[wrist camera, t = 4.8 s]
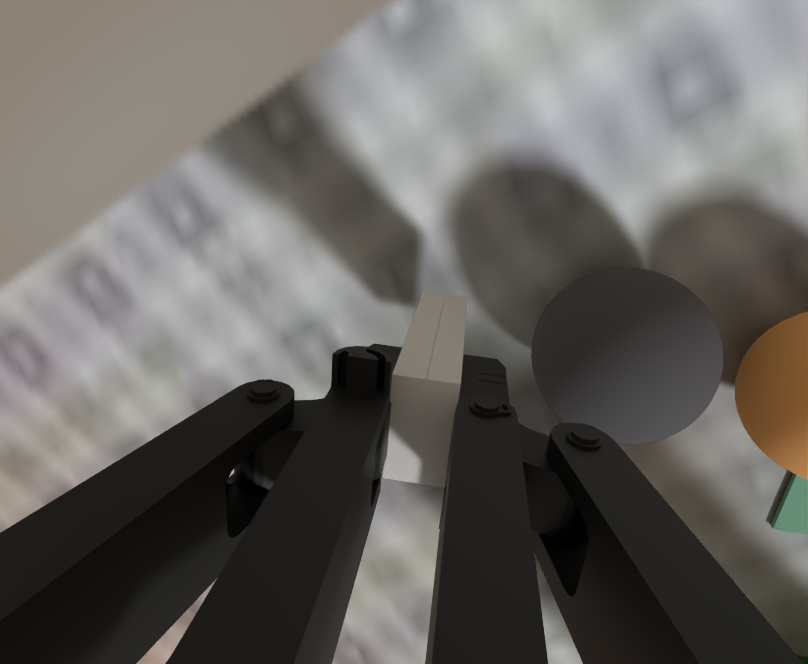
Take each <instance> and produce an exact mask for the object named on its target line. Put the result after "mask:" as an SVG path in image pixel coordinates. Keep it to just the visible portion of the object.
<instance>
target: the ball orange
mask: <svg viewBox="0 0 808 664" xmlns="http://www.w3.org/2000/svg"><path fill="white" fill-rule="evenodd" d="M735 401H736V406H737V411H738V414H739V417H740V419H741V421H742V424H743V426H744V428H745V429H746V431H747V432H748V434H749V436H750V437H751V439H752V440H753V441H754V442H755V444H756V445H757V446H758V447H759V448H760V449H761V450H762V451H763V452H764V453H765V454H766V455H767V456H768V457H770V458H771V459H772V460H773V461H774V462H776V463H777V464H779V465H780V466H782V467H783V468H785V469H787V470H789V471H790V472H792V473H794V474H796V475H798V476H800V477H802V478H805V479H807V480H808V312H804V313H801V314H798V315H795V316H793V317H790V318H788V319H786V320H783V321H782V322H780V323H778V324H776V325H775V326H773V327H771V328H770V329H769V330H767V331H766V332H765V333H763V334H762V335H761V336H760V337H759V338H758V339H757V340H756V341H755V342H754V343H753V344H752V346H751V347H750V348H749V349H748V351H747V352H746V354H745V355H744V357H743V359H742V361H741V364H740V366H739V369H738V372H737V375H736V380H735Z"/></svg>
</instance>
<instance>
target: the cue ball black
mask: <svg viewBox="0 0 808 664" xmlns="http://www.w3.org/2000/svg"><path fill="white" fill-rule="evenodd" d="M531 357H532V368H533V372H534V376H535V380H536V383H537V385H538V388H539V390H540V392H541V394H542V396H543V398H544V399H545V401H546V402H547V404H548V405H549V406H550V408H551V409H552V410H553V411H554V412H555V413H556V414H557V415H558V417H559V418H560V419H562V420H563V421H564V422H565V423H583V424H587V425H588V426H589V425H590V426H593V427H596V428H597V429H599V430H600V431H602V432H604V433H606V434H607V435H609V436H610V437H611V438H612V439H613V440H614V441H615V442H616V443H617V444H622V445H636V444H645V443H650V442H655V441H658V440H661V439H664V438H667V437H669V436H671V435H674V434H676V433H678V432H679V431H681V430H683V429H684V428H686V427H687V426H689V425H690V424H691V423H692V422H694V421H695V420H696V419H697V418H698V417H699V416H700V415H701V414H702V413H703V412H704V411H705V409H706V408H707V406H708V405H709V404H710V402H711V400H712V399H713V397H714V395H715V393H716V391H717V389H718V386H719V383H720V380H721V377H722V371H723V345H722V339H721V336H720V333H719V330H718V327H717V325H716V323H715V321H714V319H713V317H712V315H711V313H710V312H709V310H708V309H707V307H706V306H705V305H704V303H703V302H702V301H701V300H700V299H699V298H698V297H697V296H696V295H695V294H694V293H693V292H691V291H690V290H689V289H688V288H686V287H685V286H684V285H682V284H680V283H679V282H677V281H675V280H674V279H672V278H669V277H667V276H665V275H662V274H660V273H656V272H653V271H649V270H644V269H637V268H616V269H608V270H603V271H599V272H596V273H593V274H590V275H587V276H585V277H583V278H581V279H579V280H576V281H575V282H573V283H572V284H570V285H569V286H567V287H566V288H565V289H563V290H562V291H561V292H560V293H559V294H558V295H557V296H556V297H555V298H554V299H553V300H552V301H551V302H550V304H549V305H548V307H547V308H546V309H545V311H544V312H543V314H542V316H541V318H540V320H539V322H538V324H537V327H536V330H535V333H534V338H533V343H532V356H531Z"/></svg>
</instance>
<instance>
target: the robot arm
mask: <svg viewBox="0 0 808 664" xmlns="http://www.w3.org/2000/svg"><path fill="white" fill-rule="evenodd" d="M467 301H468V297H461V296H453V295H445V294H437V293H429V292H423V294H422V296H421V299H420V302H419V304H418V307H417V310H416V312H415V315H414V318H413V320H412V323H411V326H410V328H409V331H408V334H407V336H406V339H405V342H404V344H403V347H394V346H387V345H380V344H373V345H371V346H369V347H364V346H353V347H345V348H342V349H339V350H337V351H336V352H334V353H333V358H332V382H331V388H330V390H329V392H328V393H327V395H326V397H325V398H323V399H317V400H295V401H294V390H293V389H292V388H291V387H290V386H289V385H287V384H285V383H282V382H278V381H273V380H268V379H266V380H265V379H263V380H257V381H253V382H248V383H245V384H243V385H241V386H239V387H237V388H235V389H234V390H232V391H230V392H229V393H227V394H226V395H224V396H222V397H221V398H219V399H217V400H216V401H214V402H212V403H211V404H209V405H208V406H206V407H204V408H203V409H201V410H199V411H198V412H196V413H195V414H193V415H191V416H190V417H188V418H186V419H185V420H183V421H182V422H180V423H178V424H177V425H175V426H173V427H172V428H170V429H169V430H167V431H165V432H164V433H162V434H160V435H159V436H157V437H156V438H154V439H152V440H151V441H149V442H147V443H146V444H144V445H143V446H141V447H139V448H138V449H136V450H134V451H133V452H131V453H130V454H128V455H126V456H125V457H123V458H121V459H120V460H118V461H117V462H115V463H113V464H112V465H110V466H108V467H107V468H105V469H104V470H102V471H100V472H99V473H97V474H95V475H94V476H92V477H91V478H89V479H87V480H86V481H84V482H82V483H81V484H79V485H78V486H76V487H74V488H73V489H71V490H69V491H68V492H66V493H65V494H63V495H61V496H60V497H58V498H56V499H55V500H53V501H52V502H50V503H48V504H47V505H45V506H43V507H42V508H40V509H39V510H37V511H35V512H34V513H32V514H30V515H29V516H27V517H26V518H24V519H22V520H21V521H19V522H17V523H16V524H14V525H13V526H11V527H9V528H8V529H6V530H4V531H3V532H1V533H0V664H136V663H137V662H138V661H139V660H140V659H141V658H142V657H143V656H144V655H145V654H146V653H147V652H148V651H149V650H150V648H151V647H152V646H153V645H154V644H155V643H156V642H157V641H158V640H159V639H160V638H161V637H162V636H163V635H164V634H165V633H166V631H167V630H168V629H169V628H170V627H171V626H172V625H173V624H174V623H175V622H176V621H177V620H178V619H179V618H180V617H181V616H182V615H183V613H184V612H185V611H186V610H187V609H188V608H189V607H190V606H191V605H192V604H193V603H194V602H195V601H196V600H197V599H198V598H199V597H200V595H201V594H202V593H203V592H204V591H205V590H206V589H207V588H208V587H209V586H210V585H211V584H212V583H213V582H214V581H215V580H216V579H217V580H216V581H215V583H214V585H213V586H212V588H211V590H210V591H209V593H208V595H207V596H206V598H205V600H204V602H203V603H202V605H201V607H200V608H199V610H198V612H197V613H196V615H195V617H194V618H193V620H192V622H191V623H190V625H189V627H188V628H187V630H186V632H185V633H184V635H183V637H182V638H181V640H180V642H179V643H178V645H177V647H176V649H175V650H174V652H173V654H172V655H171V657H170V658H169V659H168V661H167V662H166V664H332V661H333V657H334V654H335V650H336V646H337V643H338V639H339V636H340V632H341V629H342V625H343V621H344V618H345V614H346V611H347V607H348V604H349V600H350V597H351V593H352V589H353V586H354V582H355V579H356V575H357V572H358V568H359V565H360V561H361V557H362V554H363V550H364V547H365V543H366V540H367V536H368V532H369V529H370V525H371V522H372V518H373V515H374V511H375V508H376V504H377V500H378V497H379V493H380V486H381V475H382V470H383V467H384V472H383V478H386V479H392V480H398V481H404V482H410V483H417V484H423V485H429V486H435V487H441V488H445V490H444V497H443V504H442V511H441V518H440V525H439V529H440V532H439V542H438V551H437V560H436V569H435V579H434V588H433V597H432V606H431V616H430V625H429V634H428V643H427V652H426V662H425V664H548V659H547V651H546V643H545V635H544V627H543V619H542V611H541V603H540V596H539V588H538V580H537V572H536V564H535V556H534V552H535V554H536V557H537V559H538V561H539V563H540V566H541V568H542V570H543V573H544V575H545V577H546V579H547V582H548V584H549V586H550V589H551V591H552V593H553V596H554V598H555V600H556V602H557V605H558V607H559V609H560V612H561V614H562V616H563V618H564V621H565V623H566V625H567V628H568V630H569V632H570V634H571V637H572V639H573V641H574V644H575V646H576V648H577V651H578V653H579V655H580V657H581V660H582V662H583V664H803V663H802V662H801V661H800V659H799V658H798V657H797V656H796V655H795V653H794V652H793V651H792V650H791V649H790V648H789V646H788V645H787V644H786V643H785V642H784V640H783V639H782V638H781V637H780V636H779V635H778V633H777V632H776V631H775V630H774V629H773V627H772V626H771V625H770V624H769V623H768V622H767V620H766V619H765V618H764V617H763V616H762V614H761V613H760V612H759V611H758V610H757V609H756V607H755V606H754V605H753V604H752V603H751V601H750V600H749V599H748V598H747V597H746V596H745V594H744V593H743V592H742V591H741V590H740V588H739V587H738V586H737V585H736V584H735V583H734V581H733V580H732V579H731V578H730V577H729V575H728V574H727V573H726V572H725V571H724V570H723V568H722V567H721V566H720V565H719V564H718V562H717V561H716V560H715V559H714V558H713V557H712V555H711V554H710V553H709V552H708V551H707V549H706V548H705V547H704V546H703V545H702V544H701V542H700V541H699V540H698V539H697V538H696V536H695V535H694V534H693V533H692V532H691V531H690V529H689V528H688V527H687V526H686V525H685V523H684V522H683V521H682V520H681V519H680V518H679V516H678V515H677V514H676V513H675V512H674V510H673V509H672V508H671V507H670V506H669V505H668V503H667V502H666V501H665V500H664V499H663V497H662V496H661V495H660V494H659V493H658V491H657V490H656V489H655V488H654V487H653V486H652V484H651V483H650V482H649V481H648V480H647V478H646V477H645V476H644V475H643V474H642V473H641V471H640V470H639V469H638V468H637V467H636V465H635V464H634V463H633V462H632V461H631V460H630V458H629V457H628V456H627V455H626V454H625V452H624V451H623V450H622V449H621V448H620V447H619V445H618V444H617V443H616V442H615V441H614V440H613V439H612V438H611V437H610V436H609V435H607V434H606V433H604V432H602V431H600V430H599V429H597V428H596V427H593V426H590V425H589V426H588V425H587V424H583V423H560V424H558V425H556V426H554V427H553V429H552V431H551V433H550V436H547V435H544V434H541V433H538V432H535V431H533V430H530V429H528V428H526V427H524V426H523V425H521V424H520V423H518V421H517V413H516V411H515V409H514V408H513V407H512V406H511V405H510V404H509V397H508V388H507V378H506V369H505V367H504V366H503V365H502V364H501V363H500V362H499V361H498V360H497V359H492V358H485V357H478V356H470V355H463V351H464V339H465V326H466V314H467ZM233 469H234V474H233V475H231V476H230V473H231V471H232V470H233ZM229 476H230V477H229ZM217 577H218V578H217Z"/></svg>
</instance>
